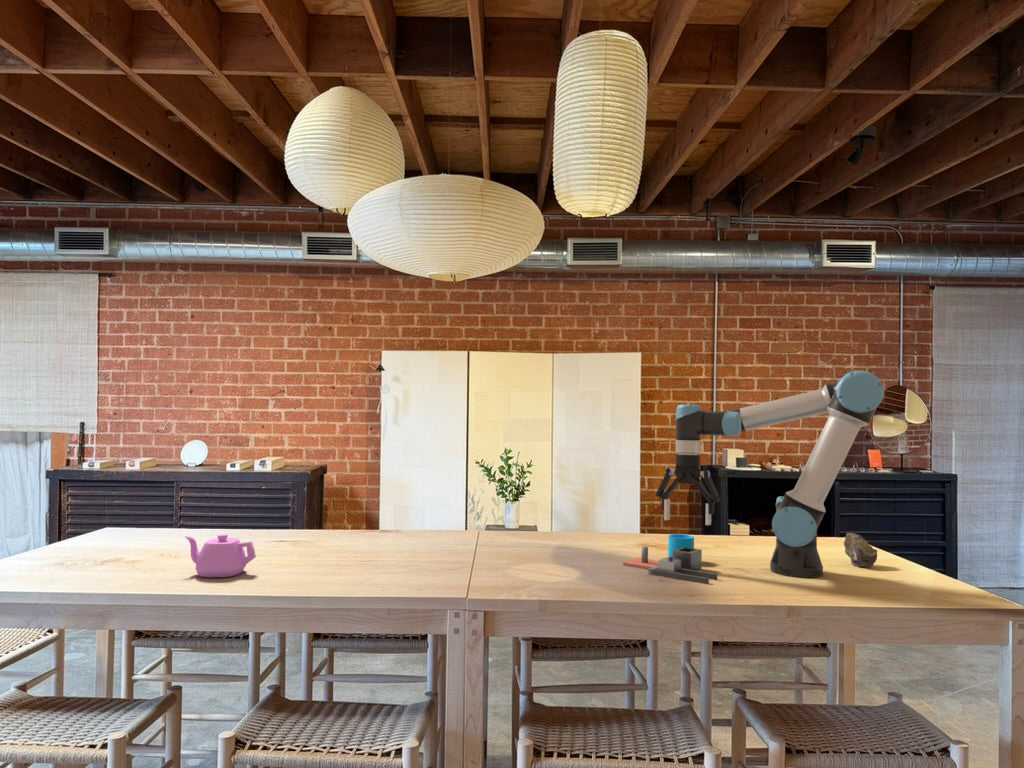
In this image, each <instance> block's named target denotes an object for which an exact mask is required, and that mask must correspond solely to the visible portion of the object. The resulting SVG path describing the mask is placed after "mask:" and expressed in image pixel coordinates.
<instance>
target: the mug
mask: <svg viewBox="0 0 1024 768" xmlns="http://www.w3.org/2000/svg"><path fill="white" fill-rule="evenodd" d="M667 542H668V551H667V552H668V555H667V556H672V557H673V550H676V549H679V548H682V547H688V548H695V537H694V536H693V535H691V534H683V533H682V534H680V533H673V534H669V535H668V541H667Z"/></svg>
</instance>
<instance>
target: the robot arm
mask: <svg viewBox="0 0 1024 768" xmlns="http://www.w3.org/2000/svg"><path fill="white" fill-rule="evenodd" d="M884 396H885V389H884V385H883V382H882V381H881V380H880V378H879V377H878V376H877V375H875V374H873V373H871V372H870V371H865V370H860V369H859V370H852V371H850V372H849V371H848V372H847V373H845V374H844V375H843V376H841V378H840V379H839V380H837V381H833V382H831V383H826V384H824V385H823V387H822V388H820V389H816V390H812V391H808V392H803V393H799V394H795V395H790V396H787V397H782V398H778V399H774V400H771V401H766V402H762V403H761V402H760V403H758V404H753V405H749V406H745V407H740V408H736V409H733V410H732V409H730V410H728V411H727V410H726V411H724V410H723V411H722V410H721V411H720V410H719V411H718V410H717V411H714V410H713V411H708V410H707V411H706V410H702V408H701V407H702V406H701V405H700V404H679V405H677V407H676V416H675V453H677V454H675V468H672V467H667V468H665V475H664V477H663V478H662V480H661V483H660V484H659V487H658V490H656V493H655V496H656V497H658V498H660V499H661V509H662V510H663V520H664V521H669V520H670V519H671V498H669V497H670V495H672V493H673V492H674V491H675V490H676V489H677V487H679V486H680V485H681V484H687V485H694V486H695V487H696V488H697V489H698V491H699V493H701V494H702V496H703V497H704V498H705V500H706V502H707V503H705V526H711V525H712V515H714V514H715V503H718V502H720V501H721V497H720V494H719V493H718V491H717V488H716V486H715V483H714V481H713V480H712V477H711V471H710V470H703V471H702V470H701V455H700V453H701V436H713V437H714V436H716V437H717V436H718V437H740V435H741V433H744V432H748V431H752V430H757V429H762V428H766V427H770V426H771V427H772V426H776V425H779V424H783V423H788V422H794V421H797V420H798V421H799V420H803V419H807V418H811V417H817V416H821V415H824V414H829V416H828V418H827V420H826V422H825V423H824V426H823V428H822V431H820V432H821V433H820V435H819V436H818V438H817V441H816V443H815V445H814V447H813V449H812V451H811V453H810V455H809V457H808V459H807V461H806V464H805V465H804V468H803V470H802V472H801V474H800V476H799V478H798V480H797V482H796V483H795V485H794V488H793V489H791V490H789V491H786V492H785V494H784V495H783V496H778V497H777V498H776V502H775V509H776V511H775V514H774V515H773V516H772V520H771V527H772V531H773V533H774V535H775V541H776V542H775V548H774V550H773V553H772V556H771V559H770V563H769V566H770V567H769V570H770V571H771V572H773V573H775V574H779V575H784V576H789V577H798V578H818V577H822V576H824V566H823V563H822V561H821V560H822V559H821V557H820V554H819V551H818V543H817V542H818V533H817V532H818V531H817V530H818V528H819V527H820V524H821V521H822V520H823V517H824V515H825V514H826V508H825V505H824V502H825V500H826V499H827V496H828V494H829V492H830V490H831V488H832V486H833V484H834V482H835V479H836V478H837V475H838V474H839V473H840V470H841V468H842V466H843V464H844V462H845V460H846V458H847V456H848V455H849V451H850V449H851V448H852V446H853V443H854V442H855V439H856V438H857V435H858V433H859V431H860V429H861V428H862V427H866V426H868V425H869V424H870V422H871V420H872V418H873V416H874V414H875V413H876V410H877V408H878V407H879V405H880V404H881V403H882V402H883V399H884ZM673 475H674V476H676V478H675V479H674V480H673V481H672V482H671V484H670V485H669V483H670V480H671V478H672V476H673ZM701 476H702V478H703V479H704V482H705V484H706V486H707V488H706V486H705V485H704V483H703V482H702V481H701V479H700V478H701ZM668 485H669V487H668ZM667 487H668V488H667ZM666 488H667V489H666ZM707 489H708V490H707Z"/></svg>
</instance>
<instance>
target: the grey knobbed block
mask: <svg viewBox="0 0 1024 768" xmlns="http://www.w3.org/2000/svg"><path fill="white" fill-rule="evenodd" d="M658 561H659V562H658V570H663V571H669V572H675V573H681V560H679V559H673V557H672V556H668V555H667V556H666V557H664V558H663V557H662V558H660V559H658Z"/></svg>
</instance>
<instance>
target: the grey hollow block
mask: <svg viewBox="0 0 1024 768" xmlns="http://www.w3.org/2000/svg"><path fill="white" fill-rule="evenodd" d="M673 559H679V560H681V568H682V569H689V570H695V571H701V570H702V561H703V559H702V549H701V548H695V547H694V548H688V547H682V548H679V549H676V550H673Z"/></svg>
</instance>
